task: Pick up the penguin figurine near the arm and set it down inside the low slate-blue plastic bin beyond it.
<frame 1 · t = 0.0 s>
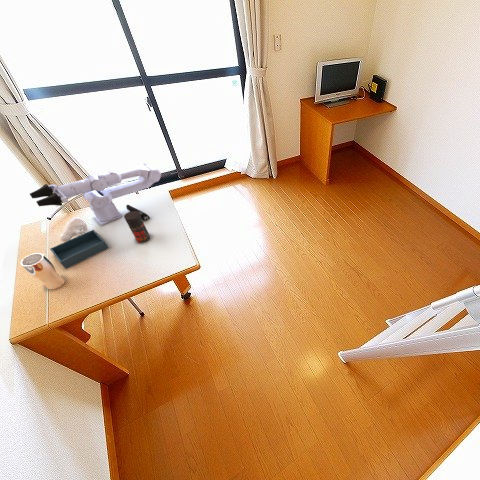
hand: (34, 200, 116), 22 cm above the table, tool horizontal, fingers open, 7 cm apart
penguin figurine: (76, 236, 132), on the table
deodorant: (143, 239, 135), on the table
bin: (82, 251, 126), on the table
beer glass: (56, 283, 113), on the table
electric trimmer: (138, 215, 146), on the table
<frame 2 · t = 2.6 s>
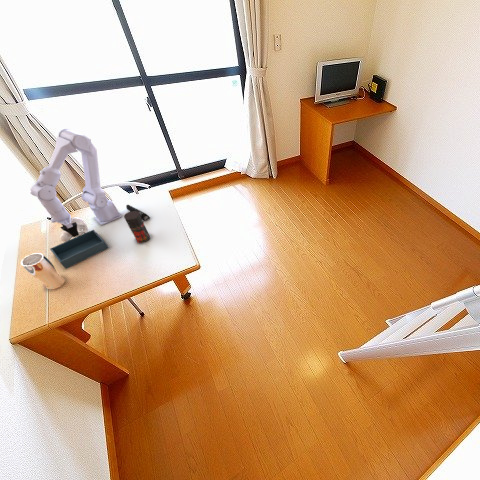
hand: (72, 231, 130), 3 cm above the table, tool pointing down, fingers open, 7 cm apart
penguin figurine: (76, 236, 132), on the table, touching gripper
everything else where it was.
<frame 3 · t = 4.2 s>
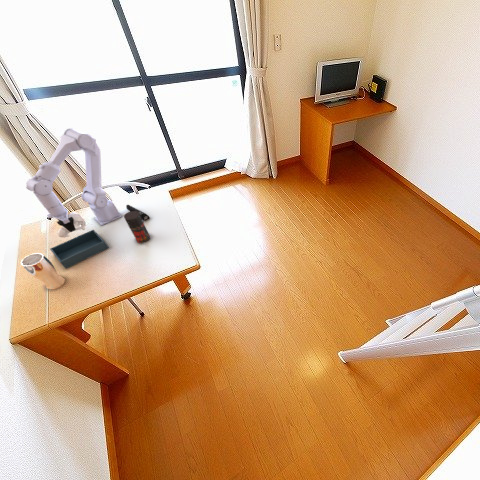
hand: (69, 227, 128), 6 cm above the table, tool pointing down, fingers closed on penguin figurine, 6 cm apart
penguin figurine: (74, 232, 131), point 3 cm above the table, touching gripper
everything else where it was.
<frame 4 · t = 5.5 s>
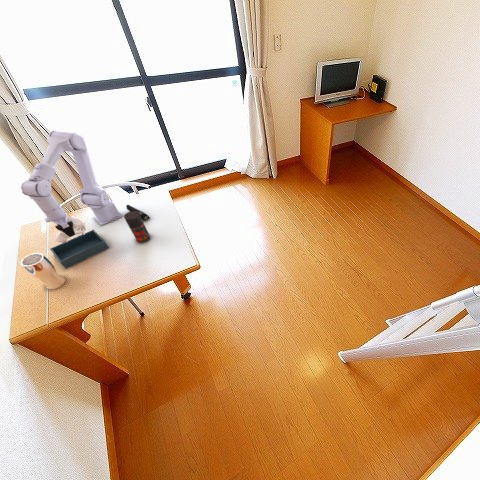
hand: (69, 232, 121), 10 cm above the table, tool pointing down, fingers closed on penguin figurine, 6 cm apart
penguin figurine: (73, 236, 123), point 7 cm above the table, touching gripper
everything else where it was.
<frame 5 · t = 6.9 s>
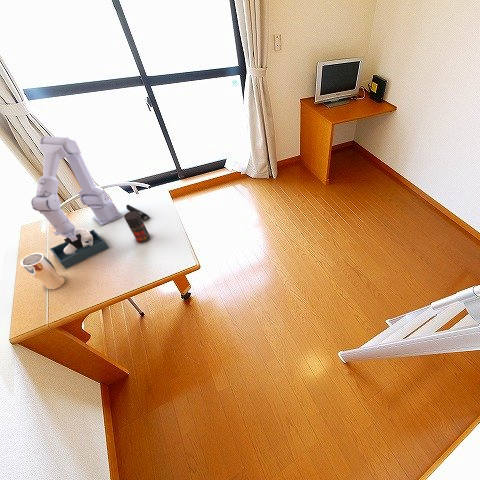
hand: (77, 244, 123), 5 cm above the table, tool pointing down, fingers closed on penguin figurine, 6 cm apart
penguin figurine: (81, 248, 125), point 2 cm above the table, touching gripper
everything else where it was.
when the fingers open (3 cm above the table, at t = 8.0 s): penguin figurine stays where it is, resting on bin.
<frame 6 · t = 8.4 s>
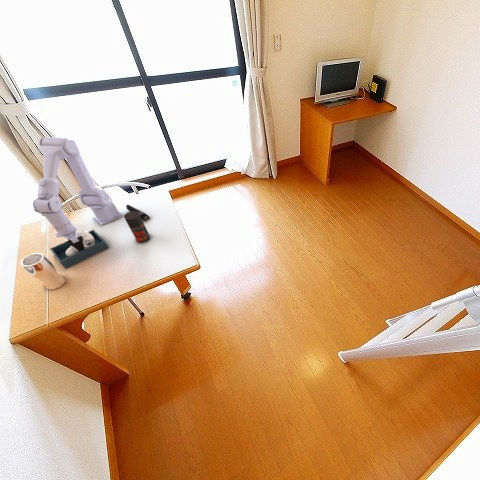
hand: (78, 245, 123), 4 cm above the table, tool pointing down, fingers open, 7 cm apart
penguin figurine: (83, 251, 126), resting on bin
everything else where it was.
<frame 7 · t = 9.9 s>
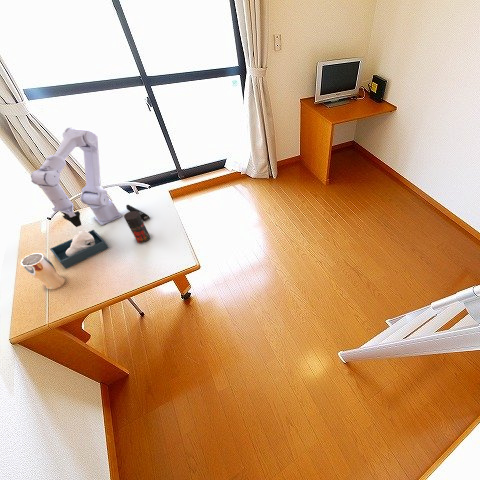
hand: (75, 221, 125), 10 cm above the table, tool pointing down, fingers open, 7 cm apart
nothing on the table moved.
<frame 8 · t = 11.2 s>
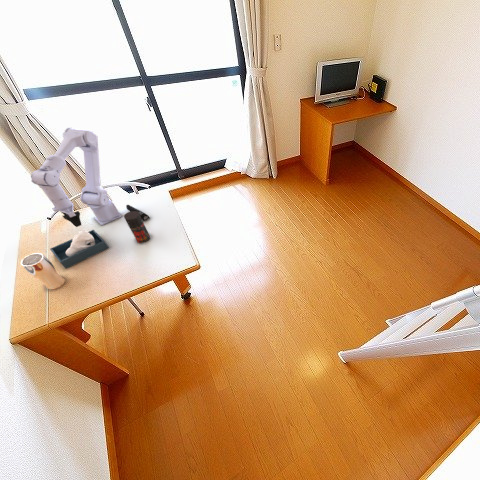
hand: (75, 221, 125), 10 cm above the table, tool pointing down, fingers open, 7 cm apart
nothing on the table moved.
at the end: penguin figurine inside the target area in the bin (0.4 cm from its centre), point 0.3 cm above the bin's base; the gripper is holding nothing; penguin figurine tilted 0° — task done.
